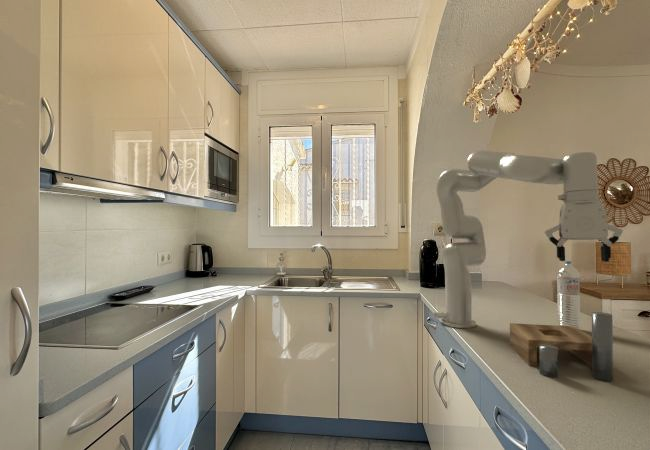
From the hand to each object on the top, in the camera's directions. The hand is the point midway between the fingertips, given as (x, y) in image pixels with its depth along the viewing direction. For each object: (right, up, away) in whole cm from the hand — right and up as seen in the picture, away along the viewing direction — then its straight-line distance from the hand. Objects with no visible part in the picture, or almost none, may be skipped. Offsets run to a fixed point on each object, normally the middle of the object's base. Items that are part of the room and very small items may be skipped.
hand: (583, 261), depth 93 cm
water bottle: (+19, -29, +32) cm, 47 cm away
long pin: (-1, -28, -8) cm, 29 cm away
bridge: (-4, -28, +6) cm, 29 cm away
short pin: (-13, -28, -5) cm, 32 cm away
